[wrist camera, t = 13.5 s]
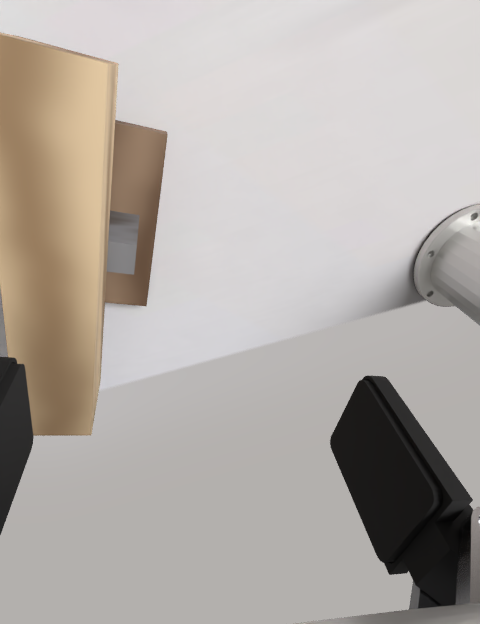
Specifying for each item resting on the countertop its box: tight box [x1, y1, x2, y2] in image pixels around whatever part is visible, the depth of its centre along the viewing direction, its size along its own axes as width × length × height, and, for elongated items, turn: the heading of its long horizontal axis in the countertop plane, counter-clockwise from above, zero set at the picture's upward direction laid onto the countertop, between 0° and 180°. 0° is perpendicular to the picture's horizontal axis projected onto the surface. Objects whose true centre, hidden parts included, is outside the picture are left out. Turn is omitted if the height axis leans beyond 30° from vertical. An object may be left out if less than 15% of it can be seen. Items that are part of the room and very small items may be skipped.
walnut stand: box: [105, 120, 167, 306], centre depth 29 cm, size 12×16×8 cm
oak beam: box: [0, 33, 118, 435], centre depth 24 cm, size 5×24×6 cm, turn 167°
